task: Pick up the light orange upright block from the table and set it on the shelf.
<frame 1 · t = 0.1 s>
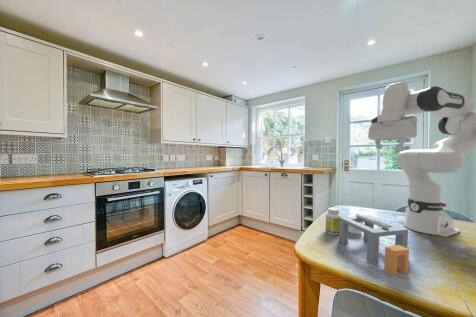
hand: (388, 148, 91), 39 cm above the table, tool pointing down, fingers open, 8 cm apart
shot glass: (354, 231, 94), on the table
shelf: (370, 248, 78), on the table
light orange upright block: (395, 271, 63), on the table
pill bottle: (332, 232, 92), on the table
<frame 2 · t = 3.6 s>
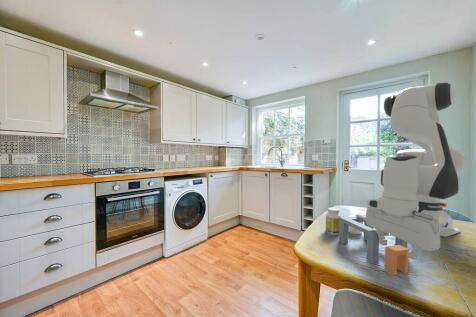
hand: (396, 250, 62), 7 cm above the table, tool pointing down, fingers open, 7 cm apart
nothing on the table moved.
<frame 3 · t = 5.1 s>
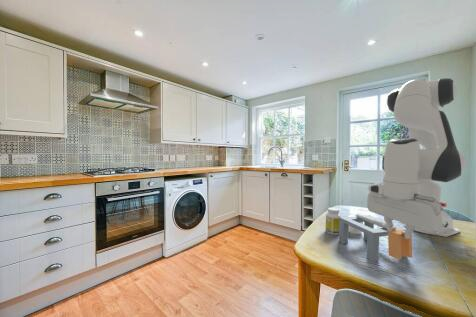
hand: (398, 234, 62), 12 cm above the table, tool pointing down, fingers closed on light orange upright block, 3 cm apart
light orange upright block: (400, 256, 62), point 5 cm above the table, touching gripper
everything else where it was.
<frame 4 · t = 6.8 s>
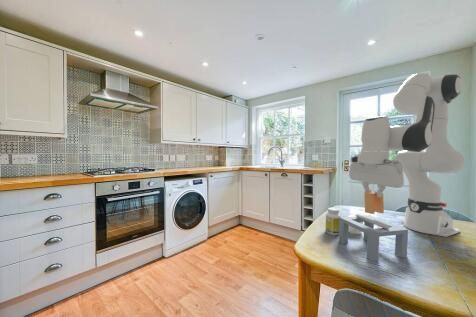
hand: (372, 195, 77), 21 cm above the table, tool pointing down, fingers closed on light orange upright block, 3 cm apart
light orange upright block: (374, 212, 76), point 14 cm above the table, tilted 5°, touching gripper
everything else where it was.
when the fingers open (13 cm above the table, at t = 8.5 s): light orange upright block moves 2 cm, resting on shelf.
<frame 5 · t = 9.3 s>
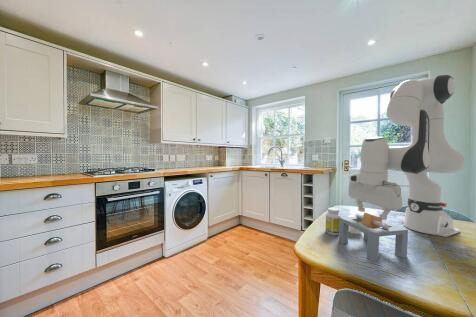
hand: (371, 215, 77), 13 cm above the table, tool pointing down, fingers open, 8 cm apart
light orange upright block: (367, 234, 77), point 6 cm above the table, tilted 17°, touching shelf
everything else where it was.
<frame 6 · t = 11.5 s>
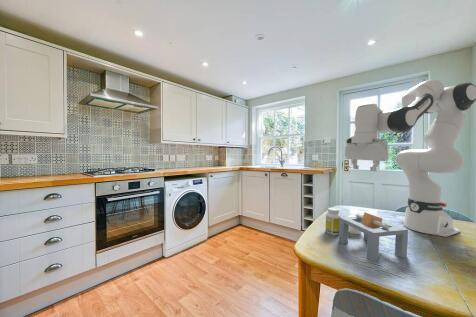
hand: (364, 170, 91), 29 cm above the table, tool pointing down, fingers open, 8 cm apart
nothing on the table moved.
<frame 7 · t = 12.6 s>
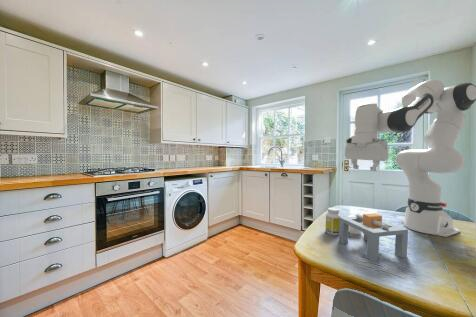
hand: (364, 170, 91), 29 cm above the table, tool pointing down, fingers open, 8 cm apart
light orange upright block: (371, 234, 77), point 6 cm above the table, touching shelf
everything else where it was.
at the end: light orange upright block inside the target area on the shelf (0.3 cm from its centre), point 5.6 cm above the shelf's base; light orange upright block touching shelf; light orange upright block tilted 7° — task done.
